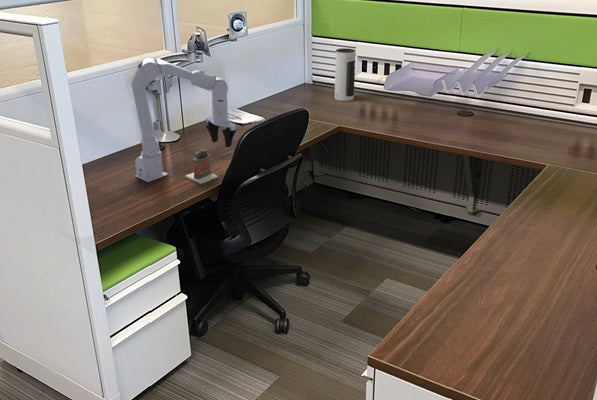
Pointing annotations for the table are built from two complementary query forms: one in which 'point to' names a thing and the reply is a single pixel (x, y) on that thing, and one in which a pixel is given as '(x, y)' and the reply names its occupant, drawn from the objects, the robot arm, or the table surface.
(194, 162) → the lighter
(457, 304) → the table surface
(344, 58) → the speaker
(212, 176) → the tile
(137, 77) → the robot arm
